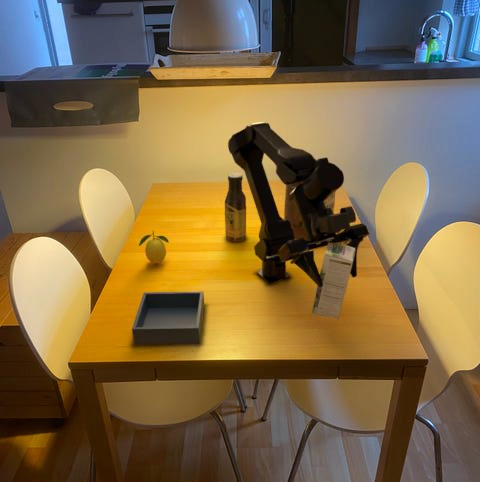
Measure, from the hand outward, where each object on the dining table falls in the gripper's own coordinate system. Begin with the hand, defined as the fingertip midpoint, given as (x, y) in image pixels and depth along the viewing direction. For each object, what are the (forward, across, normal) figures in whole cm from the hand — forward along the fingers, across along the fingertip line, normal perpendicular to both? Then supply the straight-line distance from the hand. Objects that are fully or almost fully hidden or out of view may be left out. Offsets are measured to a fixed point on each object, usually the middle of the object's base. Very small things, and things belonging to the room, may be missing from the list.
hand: (338, 281), depth 95 cm
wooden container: (-23, +23, +43) cm, 54 cm away
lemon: (-24, -26, +43) cm, 56 cm away
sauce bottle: (-26, 0, +46) cm, 53 cm away
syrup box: (+4, -1, +7) cm, 8 cm away
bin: (-4, -30, +23) cm, 38 cm away
